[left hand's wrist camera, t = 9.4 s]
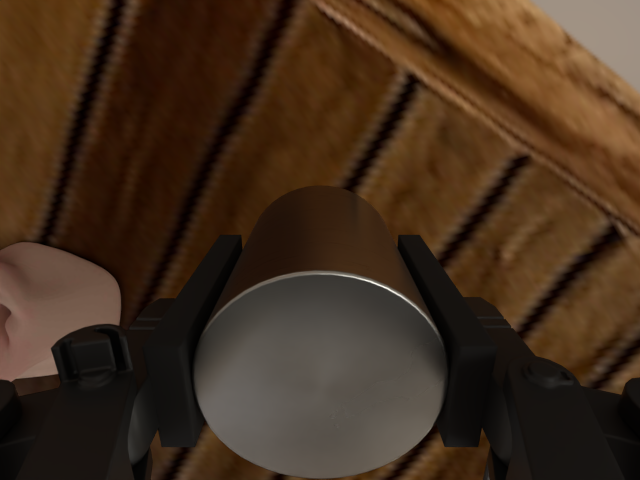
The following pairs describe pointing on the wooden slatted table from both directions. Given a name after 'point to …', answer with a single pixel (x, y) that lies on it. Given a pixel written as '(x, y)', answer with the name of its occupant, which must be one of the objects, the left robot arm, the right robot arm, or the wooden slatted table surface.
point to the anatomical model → (48, 305)
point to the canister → (320, 343)
